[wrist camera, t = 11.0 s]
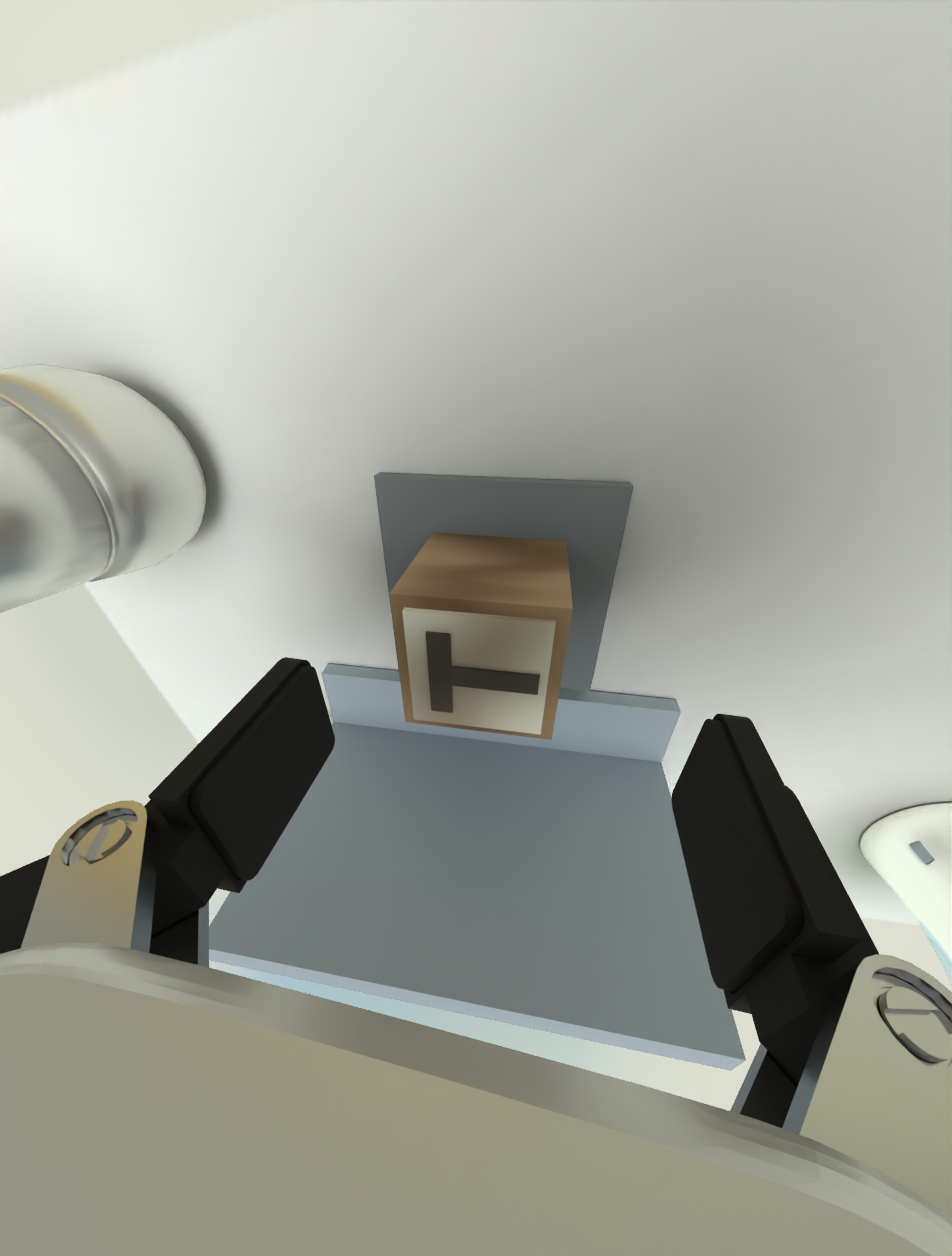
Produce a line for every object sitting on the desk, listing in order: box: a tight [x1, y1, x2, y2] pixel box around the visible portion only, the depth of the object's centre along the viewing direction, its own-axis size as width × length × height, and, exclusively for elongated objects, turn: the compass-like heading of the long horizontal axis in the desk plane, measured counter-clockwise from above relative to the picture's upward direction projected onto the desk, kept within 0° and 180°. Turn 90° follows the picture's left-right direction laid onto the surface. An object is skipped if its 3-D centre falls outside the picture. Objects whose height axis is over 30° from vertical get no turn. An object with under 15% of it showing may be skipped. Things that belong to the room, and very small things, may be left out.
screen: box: [209, 664, 746, 1070], centre depth 16 cm, size 17×5×11 cm, turn 89°
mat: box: [374, 473, 633, 691], centre depth 17 cm, size 9×9×1 cm
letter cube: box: [389, 533, 573, 740], centre depth 14 cm, size 5×5×5 cm
